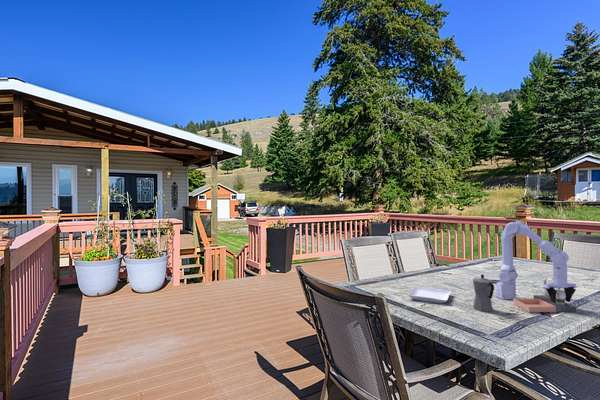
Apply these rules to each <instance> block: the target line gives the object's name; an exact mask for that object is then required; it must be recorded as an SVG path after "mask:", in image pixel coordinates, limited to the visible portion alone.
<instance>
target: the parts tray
mask: <svg viewBox="0 0 600 400" xmlns="http://www.w3.org/2000/svg"><path fill="white" fill-rule="evenodd" d="M512 300H513V303H512V304H513V305H514V306H515V307H518V308H519V309H521V310H523V311H525V312H527V313H528V314H534V313H535V314H536V313H537V312H538V313H539V312H550V313H557V310H556V306H554V305H552V304H549V303H547V302H545V301H543V300H540V299H538V298H535V299H534V298H519V299H512Z"/></svg>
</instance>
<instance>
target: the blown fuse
mask: <svg viewBox="0 0 600 400" xmlns="http://www.w3.org/2000/svg"><path fill="white" fill-rule="evenodd" d="M556 290H557V293H556V304H558V305H565V302H566V299H565V291H564V290H561V289H560V290H558V289H556Z"/></svg>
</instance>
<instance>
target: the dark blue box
mask: <svg viewBox="0 0 600 400" xmlns="http://www.w3.org/2000/svg"><path fill="white" fill-rule="evenodd" d="M548 279H552V281H553V276H550V277H546V278H545V279H543V285H545V284H548V283H547V280H548ZM557 290H561V288H557Z"/></svg>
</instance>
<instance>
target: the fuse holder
mask: <svg viewBox="0 0 600 400" xmlns="http://www.w3.org/2000/svg"><path fill="white" fill-rule="evenodd" d="M535 298H538V299H540V300H543V301H545V302H547V303H549V304H552V305H554V306H556V311H557V310H558V311H557V312H559V311H560V312H559V313H562V312H563V313H573V312H575V313H576V312H577V306H576V305H574V304H570V303H569V302H567V301H565V305H558V304H556V302H555V303H554V302H551V299H544V298H543V294H539V295H538V294H535V295H533V299H535Z"/></svg>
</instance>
